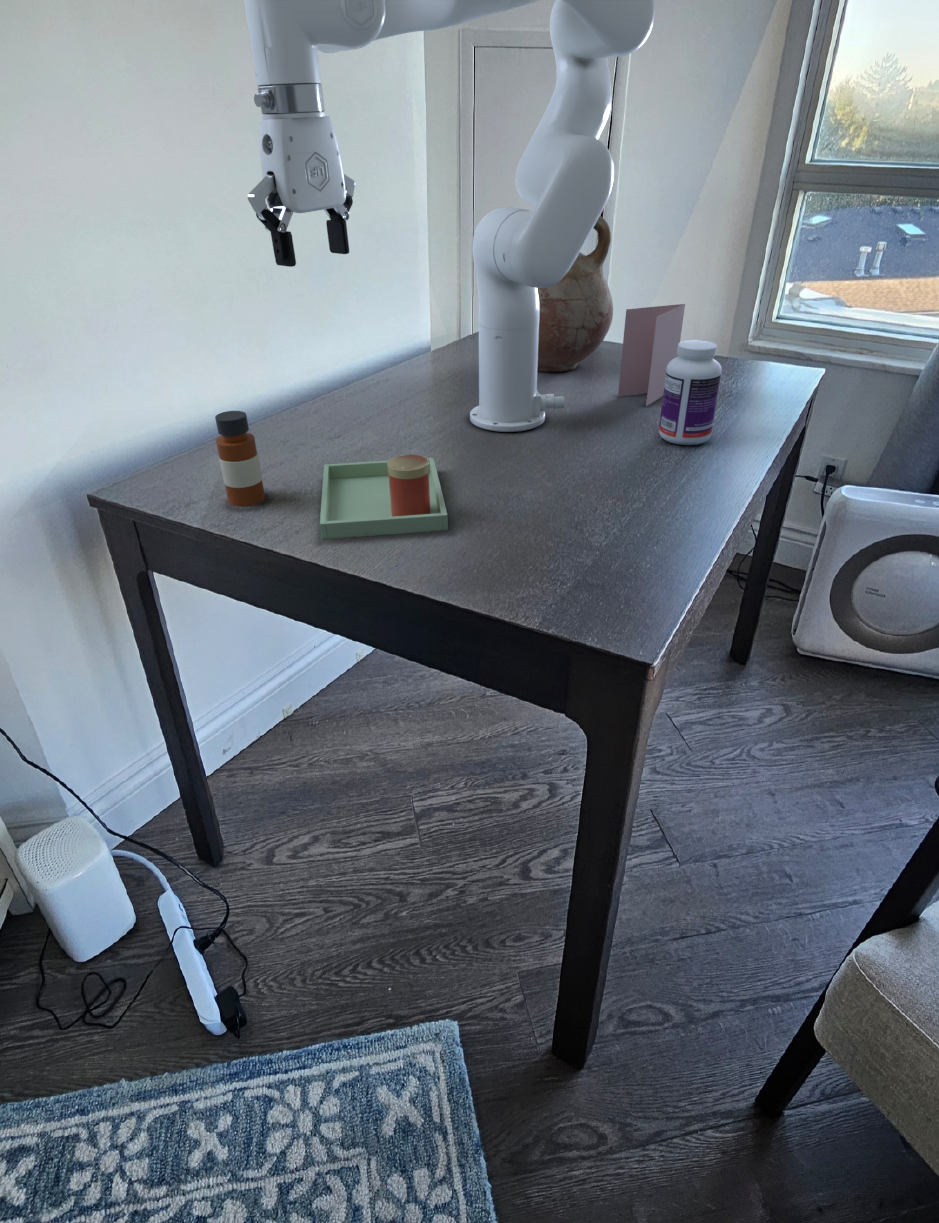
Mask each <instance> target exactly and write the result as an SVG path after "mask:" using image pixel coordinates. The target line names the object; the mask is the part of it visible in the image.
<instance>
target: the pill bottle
mask: <svg viewBox="0 0 939 1223" xmlns="http://www.w3.org/2000/svg"><path fill="white" fill-rule="evenodd" d="M717 347H718V346H717V344H716V343H714V342H711V341H707V340H700V339H699V340H698V339H689V340H688V339H687V340H682V341H680V343H679V344H678V348H677V355H678V357H676V358H674V359H672V360H671V361H670V362H669V363H668V365H667V369H666V377H665V385H664V393H663V396H662V402H661V410H660V417H659V426H658V433H659V436H660V437H661V438H662V439H663V440H664V441H666V442H667V443H671V444H674V445H681V446H696V445H701V444H704V443H706V442H707V441H708V440H710V438H711V436H712V432H713V426H714V420H715V416H716V415H715V414H716V407H717V402H718V396H719V390H720V383H721V377H722V365H721V364H720V362H719V361H718V360H717V359H714V358H715V356H716V354H717V353H716V352H717Z"/></svg>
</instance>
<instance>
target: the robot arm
mask: <svg viewBox="0 0 939 1223" xmlns="http://www.w3.org/2000/svg"><path fill="white" fill-rule="evenodd" d="M541 1H542V0H243V5H244V11H245V19H246V24H247V30H248V36H249V37H248V38H249V42H250V49H251V55H252V61H253V67H254V74H255V81H256V85H257V92H258V93H255V94H254V96H253V101H254V104H255V106H256V108H257V107H258V108H260V111H261V118H262V119H259V130H258V131H259V155H260V165H261V175H262V179H261V180H260V181H259V182H258V183H257V185H255V187H253V189H252V190H251V191H249V192H248V194H247V200H248V202H249V204H250V206H251V208H252V210H253V211H254V212H255V217H256V218H257V220H258V221H259V222H261V224H262V225H263V226H264V228H265V231H267V232H270V236H271V243H272V248H273V255H274V260H275V264H276V265H277V266H279V267H280V266H281V267H290V268H293V267H295V266H296V265H297V260H296V252H295V247H294V240H293V234H292V231H289V230H288V227H289V225H290V223H291V222H290V221H291V219H292V217H293V214H294V213H295V214H305V213H311V212H318V211H324V213H325V214H326V215H327V217H328V218H329V219H327V220H326V221H325V222H326V224H325V225H326V232H327V239H328V240H327V241H328V247H329V252H330V253H332V254H336V255H337V254H339V255H348V254H350V244H349V236H348V228H347V221H348V220H349V219H350V210H351V208H352V206H353V203H354V201H353V198H354V194H355V189H356V182H355V180H354V179H353V178H351V177H350V176H348V175H347V174H345V173H344V170H343V163H342V157H341V153H340V149H339V144H338V139H337V135H336V132H335V128H334V125H333V121H332V118H331V115H326V110H325V100H324V92H323V85H322V78H321V70H320V61H319V52H321V53H324V54H335V53H340V52H348V51H349V52H350V51H353V50H358V49H362V48H364V47H366V46H369V45H370V44H371V43H372V42H375V41H379V40H382V39H386V38H390V37H395V36H399V35H403V34H408V33H417V32H427V31H434V30H435V31H436V30H441V29H444V28H445V29H446V28H448V27H453V26H457V25H461V24H465V23H467V22H470V21H471V22H472V21H475V20H478V19H481V18H485V17H488V16H492V15H494V14H495V15H496V14H498V13H502V12H505V11H509V10H512V9H515V8H520V7H522V6H526V5H531V4H533V3H537V2H541ZM655 15H656V6H655V0H555V1H554V3H553V6H552V8H551V12H550V17H549V36H550V41H551V42H550V43H551V46H552V49H553V54H554V60H555V68H556V70H555V71H556V79H555V85H554V90H553V92H552V96H551V98H550V99H549V102H548V104H547V107H546V109H545V111H544V113H543V115H542V117H541V119H540V121H539V122H538V125H537V126H536V127H535V130H534V133H533V134H532V136H531V138H530V140H529V142H528V144H527V146H526V148H525V149H524V151H523V154H522V156H521V157H520V159H519V161H518V165H517V167H516V171H515V175H514V176H515V178H514V183H515V184H514V185H515V189H516V191H517V194H518V195H519V197H520V199H522V200H523V201H524V202H525V203H526V204H528V205H530V206H532V207H534V208H533V210H529V209H524V208H520V207H514V206H513V207H512V206H503V207H498V208H495V209H493V210H490V211H489V212H488V213H486V214H485V215H483V217H482V218H481V220H480V221H479V222H478V223H477V225H476V228H475V231H474V233H473V238H472V260H473V266H474V272H475V278H476V285H477V286H476V287H477V299H478V300H477V302H478V303H477V304H478V405H477V406H475V407H473V408H472V409H471V410H470V412H469V420H470V423H471V424H473V426H475V427H478V428H479V429H482V430H486V431H491V432H500V433H502V432H503V433H514V432H516V433H517V432H524V431H528V430H533V429H535V428H537V427H540V426H541V425H542V424H544V423H545V420H546V411H547V410H548V409H553V410H556V409H557V410H558V409H565V406H566V400H565V396H564V395H563V396H555V394H554V393H545V394H540V392H539V391H538V370H537V367H538V340H539V318H540V307H539V296H538V290H537V288H547V287H550V286H552V285H554V284H556V283H557V282H559V281H560V280H561V279H562V278H563V277H564V276H565V275H566V274H567V272H568V271H569V270H570V268H571V267H572V265H573V263H574V262H575V260H576V258H577V256H578V255H579V253H580V252H581V251H582V249H583V247H584V246H585V244H586V242H587V240H588V238H589V237H590V235H591V233H592V231H593V230H594V228H593V227H594V226H595V224H596V222H597V220H598V218H599V217H600V216H601V214H602V213H603V211H604V209H605V207H606V205H607V203H608V201H609V199H610V195H611V193H612V189H613V188H612V187H613V184H614V179H615V178H614V177H615V176H614V175H615V165H614V160H613V157H612V154H611V152H610V150H609V148H608V147H607V145H606V144H605V143H604V142H603V141H601V140H600V136H601V134H602V132H603V130H604V128H605V126H606V123H607V121H608V119H609V116H610V112H611V109H612V108H611V107H612V101H613V100H612V98H613V97H612V96H613V93H612V92H613V91H612V80H611V72H610V65H609V58H621V57H624V56H629V55H630V54H632V53H634V52H637V50H639V49H640V48H641V47H642V46H643V45H644V44H645V42H646V41H647V40H648V38H649V36H650V34H651V32H652V29H653V26H654V21H655ZM266 202H267V203H266ZM268 207H269V208H268Z"/></svg>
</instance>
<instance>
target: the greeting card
mask: <svg viewBox="0 0 939 1223" xmlns="http://www.w3.org/2000/svg"><path fill="white" fill-rule="evenodd" d="M685 309H686V303H679V304H669V305H657V306H647V307H636V308H626V309H625V318H624V329H623V339H622V350H621V360H620V369H619V370H620V371H619V381H618V391H617V397H618V398H619V397H626V396H633V395H635V396H636V395H642V394H647V395H646V401H645V402H646V403H645V407H648V406H649V405H651V404H653V403H654V402H656V401H657V400H659V399H661V398H663V393H664V385H665V377H666V369H667V365H668V363H669V362H670V361H671V360H672V359H674V358H676V357H678V355H677V348H678V344H679V343H680V342H681V338H682V330H683V322H684V317H685V315H684V314H685Z"/></svg>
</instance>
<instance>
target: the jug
mask: <svg viewBox="0 0 939 1223" xmlns="http://www.w3.org/2000/svg"><path fill="white" fill-rule="evenodd" d="M593 230H595V231H596V233H597V243H596V246H595V249H594V250H592V252H590V253H588V254H587V255H585V254H584V253H582V252H581V251H580V253H579V255H578V256H577V258H576V260H575V262H574V263H573V265H572V267H571V268H570V270H569V271H568V272H567V274H566V275H565V276H564V277H563V278H562V279H561V280H560V281H559V282H557V283H556V284H554V285H552V286H550V287H547V288H537V290H538V296H539V307H540V318H539V340H538V367H537V371H538V372H545V373H546V372H547V373H555V372H558V373H561V372H563V373H564V372H568V371H572V370H574V369H576V368H577V366H578V363H579V362H581V361H583V360H585V359H586V358H588V357H589V356H591V355H592V354H593V353H594V352H595V351H597V349H598V348H599V347H600V346H601V344H602V343H603V342H604V340H605V338H606V336H607V334H608V332H609V330H610V328H611V326H612V322H613V316H614V304H613V297H612V294H611V291H610V287H609V284H608V282H607V279H606V277H605V274H604V270H603V267H604V266H603V265H604V263H605V261H606V258H607V256H608V254H609V249H610V246H611V241H612V236H611V235H612V234H611V228H610V226H609V224H608V222H607V221H606V219H605V218H604V217H603V216H601V215H600V217H599V218H598V220H597V222H596V224H595V226H594V227H593Z"/></svg>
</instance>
